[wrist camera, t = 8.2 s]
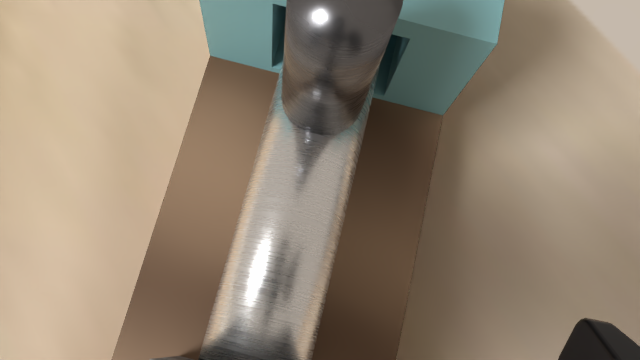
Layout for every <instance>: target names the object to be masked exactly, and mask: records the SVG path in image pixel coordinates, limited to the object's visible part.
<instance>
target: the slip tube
mask: <svg viewBox="0 0 640 360" xmlns="http://www.w3.org/2000/svg"><path fill="white" fill-rule="evenodd" d="M402 5H403V0H287V2H286V20H285V38H284V56H283V63H282V66H281V70H280V74H279V77H278V81H277V84H276V88H275V91H274V95H273V98H272V102H271V105H270V109H269V112H268V116H267V119H266V123H265V126H264V130H263V133H262V137H261V140H260V144H259V147H258V151H257V154H256V158H255V161H254V165H253V168H252V172H251V175H250V179H249V183H248V186H247V190H246V193H245V197H244V200H243V204H242V207H241V211H240V214H239V218H238V221H237V225H236V228H235V232H234V235H233V239H232V242H231V246H230V249H229V253H228V256H227V260H226V263H225V267H224V270H223V274H222V277H221V281H220V285H219V288H218V292H217V295H216V299H215V302H214V306H213V309H212V313H211V316H210V320H209V323H208V327H207V330H206V334H205V337H204V341H203V344H202V348H201V351H200V355H199V358H198V360H312V356H313V351H314V347H315V343H316V338H317V334H318V330H319V326H320V321H321V317H322V313H323V308H324V304H325V300H326V295H327V291H328V287H329V282H330V278H331V274H332V269H333V265H334V261H335V257H336V252H337V248H338V244H339V239H340V235H341V231H342V226H343V222H344V218H345V213H346V209H347V205H348V200H349V196H350V192H351V187H352V183H353V179H354V175H355V170H356V166H357V162H358V157H359V153H360V149H361V144H362V140H363V136H364V131H365V127H366V123H367V118H368V114H369V110H370V106H371V101H372V97H373V93H374V88H375V84H376V80H377V75H378V71H379V67H380V62H381V60H382V57H383V55H384V52H385V50H386V47H387V45H388V42H389V40H390V37H391V35H392V32H393V30H394V27H395V25H396V22H397V20H398V17H399V15H400V12H401V9H402Z"/></svg>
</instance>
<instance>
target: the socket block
mask: <svg viewBox="0 0 640 360" xmlns="http://www.w3.org/2000/svg"><path fill="white" fill-rule="evenodd" d="M199 1H200V6H201V11H202V16H203V21H204V26H205V32H206V37H207V42H208V47H209V52H210V56H213V57H217V58H221V59H225V60H229V61H233V62H237V63H241V64H245V65H248V66H252V67H256V68H260V69H264V70H268V71H272V72H276V73H280V70H281V66H282V63H283V56H284V38H285V20H286V2H287V0H199ZM504 1H505V0H403V5H402V9H401V12H400V15H399V17H398V20H397V22H396V25H395V27H394V30H393V32H392V35H391V37H390V40H389V42H388V45H387V47H386V50H385V52H384V55H383V57H382V60H381V62H380V67H379V71H378V75H377V80H376V84H375V88H374V93H373V98H377V99H381V100H385V101H389V102H393V103H397V104H400V105H404V106H408V107H412V108H416V109H420V110H424V111H428V112H432V113H436V114H439V115H444V113H445V112H446V111H447V109H448V108H449V107H450V105H451V104H452V103H453V101H454V100H455V99H456V97H457V96H458V95H459V94H460V92H461V91H462V90H463V88H464V87H465V86H466V84H467V83H468V82H469V80H470V79H471V78H472V76H473V75H474V74H475V72H476V71H477V70H478V68H479V67H480V66H481V65H482V63H483V62H484V61H485V59H486V58H487V57H488V55H489V54H490V53H491V51H492V50H493V49H494V47H495V46H496V45H497V41H498V36H499V30H500V24H501V18H502V12H503V6H504Z"/></svg>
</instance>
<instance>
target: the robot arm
mask: <svg viewBox="0 0 640 360" xmlns="http://www.w3.org/2000/svg"><path fill="white" fill-rule="evenodd" d="M558 360H640V346H638V345H637V344H636V343H635V342H634V341H632V340H631V339H630V338H629V337H627V336H626V335H625V334H624V333H623V332H621V331H620V330H619V329H618V328H616V327H615V326H614V325H613V324H611V323H608V322H604V321H599V320H594V319H588V318H584V319H581V320H580V321H579V322H578V323H577V324H576V326H575V327H574V329H573V331H572V333H571V335H570V337H569V339H568V341H567V343H566V345H565V347H564V348H563V350H562V352H561V354H560V356H559V359H558Z"/></svg>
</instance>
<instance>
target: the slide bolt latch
mask: <svg viewBox="0 0 640 360" xmlns="http://www.w3.org/2000/svg"><path fill="white" fill-rule="evenodd" d="M279 74H280V73H276V72H272V71H268V70H264V69H260V68H256V67H252V66H248V65H245V64H241V63H237V62H233V61H229V60H225V59H221V58H217V57H213V56H210V58H209V61H208V64H207V67H206V70H205V73H204V76H203V80H202V83H201V86H200V89H199V92H198V95H197V98H196V101H195V104H194V107H193V110H192V113H191V117H190V120H189V123H188V126H187V129H186V132H185V135H184V138H183V141H182V144H181V147H180V150H179V154H178V157H177V160H176V163H175V166H174V169H173V172H172V175H171V178H170V181H169V184H168V187H167V190H166V194H165V197H164V200H163V203H162V206H161V209H160V212H159V215H158V218H157V221H156V224H155V227H154V231H153V234H152V237H151V240H150V243H149V246H148V249H147V252H146V255H145V258H144V261H143V264H142V268H141V271H140V274H139V277H138V280H137V283H136V286H135V289H134V292H133V295H132V298H131V301H130V305H129V308H128V311H127V314H126V317H125V320H124V323H123V326H122V329H121V332H120V335H119V338H118V342H117V345H116V348H115V351H114V354H113V357H112V360H198V358H199V355H200V351H201V348H202V344H203V341H204V337H205V334H206V330H207V327H208V323H209V320H210V316H211V313H212V309H213V306H214V302H215V299H216V295H217V292H218V288H219V285H220V281H221V277H222V274H223V270H224V267H225V263H226V260H227V256H228V253H229V249H230V246H231V242H232V239H233V235H234V232H235V228H236V225H237V221H238V218H239V214H240V211H241V207H242V204H243V200H244V197H245V193H246V190H247V186H248V183H249V179H250V175H251V172H252V168H253V165H254V161H255V158H256V154H257V151H258V147H259V144H260V140H261V137H262V133H263V130H264V126H265V123H266V119H267V116H268V112H269V109H270V105H271V102H272V98H273V95H274V91H275V88H276V84H277V81H278V77H279ZM442 118H443V115H439V114H436V113H432V112H428V111H424V110H420V109H416V108H412V107H408V106H404V105H400V104H397V103H393V102H389V101H385V100H381V99H377V98H373V97H372V101H371V106H370V110H369V114H368V118H367V123H366V127H365V131H364V136H363V140H362V144H361V149H360V153H359V157H358V162H357V166H356V170H355V175H354V179H353V183H352V187H351V192H350V196H349V200H348V205H347V209H346V213H345V218H344V222H343V226H342V231H341V235H340V239H339V244H338V248H337V252H336V257H335V261H334V265H333V269H332V274H331V278H330V282H329V287H328V291H327V295H326V300H325V304H324V308H323V313H322V317H321V321H320V326H319V330H318V334H317V338H316V343H315V347H314V351H313V356H312V360H396V356H397V351H398V346H399V341H400V335H401V330H402V325H403V320H404V315H405V309H406V304H407V299H408V294H409V289H410V283H411V278H412V273H413V268H414V263H415V258H416V252H417V247H418V242H419V237H420V232H421V226H422V221H423V216H424V211H425V206H426V200H427V195H428V190H429V185H430V180H431V175H432V169H433V164H434V159H435V154H436V149H437V143H438V138H439V133H440V128H441V123H442Z"/></svg>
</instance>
